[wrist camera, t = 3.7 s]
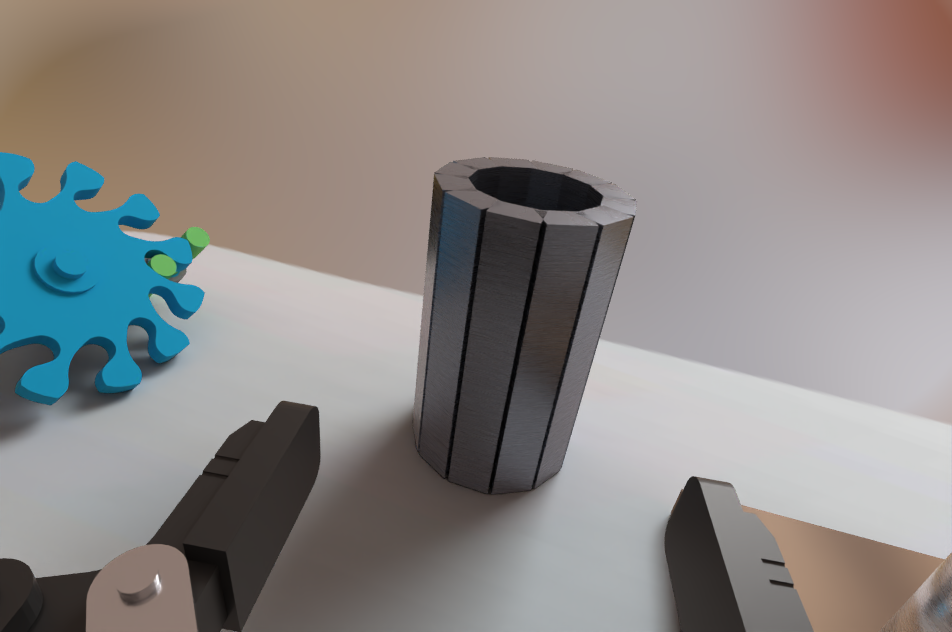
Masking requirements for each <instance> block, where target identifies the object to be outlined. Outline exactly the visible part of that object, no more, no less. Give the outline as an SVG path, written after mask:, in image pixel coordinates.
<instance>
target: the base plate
mask: <svg viewBox="0 0 952 632" xmlns="http://www.w3.org/2000/svg"><path fill="white" fill-rule="evenodd" d="M682 492H683V489H682V490H681V492H680V494H679V496H678V498H677V501H676V503H675V505H674V507H673V509H672V511H671V515H672V513H673V511H674V509H675V507H676V504H677V502H678V500H679V498H680V496H681V494H682ZM741 507H742V509H743V512H748V513H753V514H756V515H757V517H758V518H759V519H760V520H761V522H762V523H763V524H764V525H765V526H766V528H767V529H768V530H769V531H770V533H771V534H772V535H773V536H774V537H775V540H776V542H777V544H778V547H779V549H780V552H781V554H782V556H783V559H784V561H785V568H788V571H789V573H790V575H791V578H792V580H793V583H794V589H796V590H797V592H798V595H799V597H800V599H801V602H802V604H803V607H804V609H805V611H806V614H807V616H808V618H809V621H810V623H811V626H812V628H813V630H814V632H879V631H880V630H881V628H882V627H883V626H884V625H885V624H886V623H887V622H888V621H889V620H890V619H891V618H892V617H893V615H894V614H895V613H896V612H897V611H898V610H899V609H900V608H901V607H902V606H903V605H904V604H905V602H906V601H907V600H908V599H909V598H910V597H911V596H912V595H913V594H914V593H915V592H916V591H917V589H918V588H919V587H920V586H921V585H922V584H923V583H924V582H925V581H926V580H927V579H928V578H929V576H930V575H931V574H932V573H933V572H934V571H935V570H936V569H937V568H938V567H939V566H940V565H941V563H942V562H943V561H944V559H940V558H937V557H933V556H929V555H926V554H922V553H918V552H914V551H911V550H907V549H903V548H899V547H896V546H892V545H888V544H885V543H881V542H877V541H873V540H870V539H866V538H862V537H858V536H855V535H851V534H847V533H844V532H840V531H836V530H832V529H829V528H825V527H821V526H817V525H814V524H810V523H806V522H803V521H799V520H795V519H791V518H788V517H784V516H780V515H776V514H773V513H769V512H765V511H762V510H758V509H754V508H750V507H747V506H743V505H741Z"/></svg>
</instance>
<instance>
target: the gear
mask: <svg viewBox="0 0 952 632" xmlns="http://www.w3.org/2000/svg"><path fill="white" fill-rule="evenodd" d="M33 173H34V164H33V162H32V161H31V160H30V159H29V158H26V157H23V156H19V155H15V154H10V153H2V152H0V354H1V353H3V352H5V351H8V350H11V349H14V348H17V347H20V346H24V345H28V344H42V345H45V346H47V347H48V348H50V349H51V351H52V352H53V354H54V360H53V361H51V362H48V363H44V364H41V365H37V366H35V367H32V368H30V369H29V370H28V371H26V372H25V373H24V375H23V376H22V377H21V379H20V380H19V381H18V383H17V384H16V387H15V393H16V394H18V395H19V396H21V397H23V398H25V399H28V400H31V401H34V402H38V403H43V404H48V405H52V404H54V403H55V402H56V401H57V400H58V399H59V398H60V397H61V396H62V395H63V394H64V393H65V392H66V391H67V389H68V386H69V379H68V371H69V365H70V362H71V360H72V358H73V356H74V354H75V353H76V352H77V351H78V350H79V349H80V348H81V347H83V346H85V345H88V344H96V345H99V346H101V347H103V348H104V349H105V350H106V351H107V353H108V356H109V360H108V362H107V364H106V365H105V366H104V367H103V368H102V369H101V370H100V371H99V373H98V374H97V375H96V378H95V386H96V388H97V390H98V391H99V392H101V393H119V392H124V391H128V390H131V389H134V388H135V387H136V386H137V385H138V384H140V382H141V379H142V373H141V370H140V368H139V367H138V366H137V364H136V363H135V362H134V361H133V359H132V357H131V356H130V353H129V351H128V347H127V329H128V326H129V325H137V326H140V327H142V328H144V329H145V330H146V332H147V333H148V336H149V341H148V353H149V355H150V357H151V358H152V359H153V360H154V361H156V362H157V363H163V362H166V361H168V360H170V359H171V358H173V357H174V356H176V355H177V354H178V353H179V352H180V351H182V350H183V349H184V348H185V347H186V346H188V345H189V344H190V343H189V340H188V338H187V336H186V335H185V334H184V333H183V332H181V331H180V330H178V329H175V328H173V327H172V326H170V325H169V324H167V323H166V322H165V321H164V320H163V319H162V318H161V317H160V316H159V315H158V314H157V312H156V311H155V309H154V307H153V306H152V304H151V302H150V300H149V297H150V296H151V295H152V294H157V295H159V296H161V297H162V298H163V299H164V300H165V301H166V303H167V305H168V307H169V309H170V310H171V312H172V313H173V314H174V315H175V316H177V317H179V318H182V319H188V318H189V317H190V316H192V315H193V314H194V313H195V312H196V311H197V310H198V309H199V307H200V306H201V304H202V301H203V298H204V294H205V293H204V292H203V291H202V290H201V289H200V288H199V287H197V286H194V285H186V284H180V283H178V282H179V281H180V280H181V279H182V278H183V277H184V276H185V274H186V268H187V267H188V266H189V265H190V264H191V263H192V259H194V258H195V257H196V256H197V255H198V254H199V253H200V252H201V251H202V250H203V249H204V248H205V247H206V246H207V245H208V244H209V241H210V239H209V236H208V234H207V233H206V232H205V231H204V230H202V229H201V228H198V227H191V228H189V229H188V230H187V231H186V232H185V233H184V235H183V236H182V237H181V238H179V237H175V238H171V239H169V240H165V241H156V242H154V241H146V240H141V239H138V238H134V237H131V236H128V235H126V234H124V233H123V232H122V231H121V230H120V228H119V226H118V225H126V226H130V227H133V228H137V229H147V228H149V227H151V226H152V225H153V223H154V222H155V221H156V220H157V218H158V217H159V216H160V214H159V212H158V210H157V209H156V207H155V206H154V205H153V203H152V202H151V201H150V200H149V199H148V198H147V197H146V196H145V195H144V194H134V195H132V196H131V197H129V199H128V200H127V202H126V203H125V204H124V205H122V206H121V207H119V208H117V209H114V210H111V211H104V212H87V211H85V210H83V209H81V208H79V207H78V206H77V205H76V203H75V202H74V200H84V199H91V198H93V197H94V196H96V194H97V193H98V191H99V190H100V188H101V186H102V185H103V183H104V178H103V177H102V176H101V175H100V174H99V173H97V172H96V171H94V170H92V169H91V168H88V167H87V166H85V165H82V164H80V163H78V162H76V161H75V162H72V163H70V164H69V165H68V166H67V168H66V170H65V171H64V173H63V175H62V177H61V180H60V183H61V191H60V193H59V194H58V195H57V196H55V197H54V198H52V199H51V200H49V201H48V202H45V203H34V202H31V201H29V200H26V199H25V198H24V197H22V195H21V194H20V193H19V191H20V190H21V189H23V188H24V187H26V186H27V184H28V182H29V181H30V179H31V177H32V175H33Z"/></svg>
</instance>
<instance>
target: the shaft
mask: <svg viewBox="0 0 952 632" xmlns="http://www.w3.org/2000/svg"><path fill="white" fill-rule="evenodd" d="M879 632H952V553H951V554H950V555H949V556H948V557H947V558H946V559H945V560H944V561H943V562H942V563H941V565H940V566H939V567H938V568H937V569H936V570H935V571H934V572H933V573H932V574H931V575H930V576H929V578H928V579H927V580H926V581H925V582H924V583H923V584H922V585H921V586H920V587H919V588H918V589H917V591H916V592H915V593H914V594H913V595H912V596H911V597H910V598H909V599H908V600H907V601H906V602H905V604H904V605H903V606H902V607H901V608H900V609H899V610H898V611H897V612H896V613H895V614H894V615H893V617H892V618H891V619H890V620H889V621H888V622H887V623H886V624H885V625H884V626H883V627H882V628H881V630H880V631H879Z"/></svg>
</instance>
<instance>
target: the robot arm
mask: <svg viewBox="0 0 952 632" xmlns="http://www.w3.org/2000/svg"><path fill="white" fill-rule="evenodd" d="M319 465H320V428H319V410H318V408H317V407H316V406H310V405H305V404H299V403H294V402H288V401H281V402H280V403H279V404H278V405H277V406H276V408H275V409H274V411H273V412H272V413H271V415H270V416H269V418H268V419H267V421H266V422H260V421H254V420H251V421H250V422H248V423H247V424H245V425H244V426H242V427H241V428H240V429H238V430H237V431H235V432H234V433H232V434H231V435H229V437H228V438H227V439H226V441H225V442H224V443H223V445H222V446H221V447H220V449H219V450H218V452H217V453H216V454H215V458H214V459H212V460H211V461H210V462H209V464H208V465H207V466H206V468H205V469H204V470H203V474H202V475H200V476H199V477H198V478H197V480H196V481H195V482H194V484H193V485H192V486H191V488H190V489H189V490H188V492H187V493H186V494H185V496H184V497H183V498H182V500H181V501H180V502H179V504H178V505H177V506H176V508H175V509H174V510H173V512H172V513H171V514H170V516H169V517H168V518H167V520H166V521H165V522H164V524H163V525H162V526H161V528H160V529H159V530H158V532H157V533H156V534H155V536H154V537H153V538H152V539H151V540H150V541H149V542H148V543H147V544H146V545H145V546H141V547H137V548H134V549H132V550H129V551H127V552H125V553H123V554H121V555H120V556H118V557H117V558H115V559H113V560H112V561H111V562H110V563H108V564H107V565H106V566H105V567H104V568H103V569H101V570H98V571H92V572H86V573H77V574H68V575H60V576H51V577H42V578H35V577H34V575H33V573H32V571H31V569H30V567H29V566H28V565H26V564H25V563H24V562H21V561H19V560H15V559H7V558H3V559H0V632H220V631H221V629H222V628H223V629H228V630H233V631H238V632H241V630H242V628H243V626H244V624H245V622H246V620H247V618H248V616H249V614H250V612H251V610H252V608H253V606H254V604H255V602H256V600H257V598H258V596H259V594H260V592H261V590H262V588H263V586H264V584H265V582H266V580H267V578H268V576H269V574H270V572H271V570H272V568H273V566H274V564H275V562H276V560H277V558H278V556H279V554H280V552H281V550H282V548H283V546H284V544H285V542H286V540H287V538H288V536H289V534H290V532H291V530H292V528H293V526H294V524H295V522H296V520H297V518H298V516H299V514H300V512H301V510H302V508H303V506H304V504H305V502H306V500H307V498H308V496H309V494H310V492H311V490H312V488H313V485H314V483H315V480H316V477H317V474H318V470H319ZM665 553H666V558H667V563H668V568H669V572H670V577H671V582H672V587H673V592H674V597H675V601H676V606H677V611H678V616H679V621H680V625H681V630H682V632H814V630H813V628H812V626H811V623H810V621H809V618H808V616H807V614H806V611H805V609H804V607H803V604H802V602H801V599H800V597H799V595H798V592H797V590H796V589H794V583H793V580H792V578H791V575H790V573H789V571H788V568H785V561H784V559H783V556H782V554H781V552H780V549H779V547H778V544H777V542H776V540H775V537H774V536H773V535H772V534H771V533H770V531H769V530H768V529H767V528H766V526H765V525H764V524H763V523H762V522H761V520H760V519H759V518H758V517H757V515H756V514H753V513H748V512H743V509H742V507H741V504H740V501H739V499H738V496H737V493H736V491H735V489H734V487H733V485H731V484H730V483H728V482H722V481H716V480H711V479H705V478H700V477H694V476H693V477H691V478H689V480H688V481H687V483H686V485H685V487H684V490H683V492H682V494H681V496H680V498H679V500H678V502H677V504H676V507H675V509H674V511H673V513H672V515H671V517H670V519H669V521H668V524H667V528H666V533H665Z"/></svg>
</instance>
